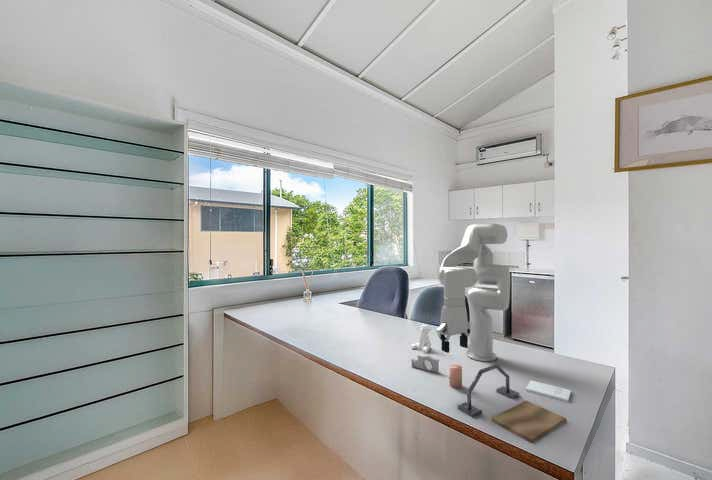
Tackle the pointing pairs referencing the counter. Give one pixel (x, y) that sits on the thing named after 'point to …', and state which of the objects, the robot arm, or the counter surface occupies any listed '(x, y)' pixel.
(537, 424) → the walnut board
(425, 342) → the seated beast figurine
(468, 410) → the grey cabinet handle
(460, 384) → the peach domed cylinder
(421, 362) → the garden wall model
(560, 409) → the counter surface
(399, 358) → the counter surface
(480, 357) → the robot arm
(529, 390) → the external hard drive
